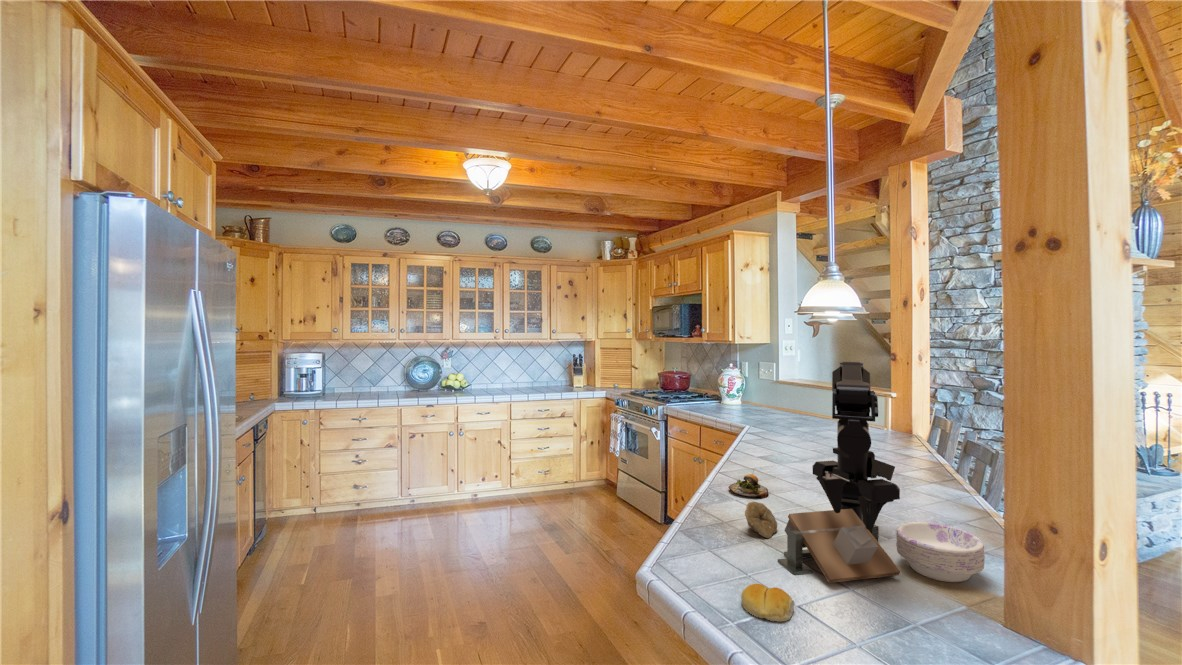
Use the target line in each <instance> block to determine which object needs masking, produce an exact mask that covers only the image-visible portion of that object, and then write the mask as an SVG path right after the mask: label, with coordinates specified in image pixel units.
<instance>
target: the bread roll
mask: <svg viewBox="0 0 1182 665" xmlns="http://www.w3.org/2000/svg"><path fill="white" fill-rule="evenodd" d="M740 599H741V600H740V602H741V604H742V607H743V608H744V610H745V611H746V612H747V613H748V612H749V613H750V615H751V614H752V615H751V616H753V615H754V616H753V617H755V616H756V617H755V618H758V617H759V618H758V619H765V620H767V621H769V620H770V622H774V621H777V622H776V623H778V622H786V621H789V620H790V619H791V617H792V616H793V613H794V610H795V601H794V600H793V599H792V597H791V595H790V594H788V592H786V591H785V590H784V589H781V588H779V587H770V588H768V587H767V586H765V585H764V584H762V583H752V584H750V585H748V586H746V587H745V588H744V589H743V591H742V593H741V595H740ZM749 613H748V614H749Z"/></svg>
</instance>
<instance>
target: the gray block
mask: <svg viewBox="0 0 1182 665" xmlns="http://www.w3.org/2000/svg"><path fill="white" fill-rule="evenodd" d="M833 545H834V546H835V547H836V549H837V550H838V552H839V553H840V555H841V556H842V558H843V559H844V561H845V562H846V564H847V565H851V564H860V563H869V561H870V560H871V558H872V556H873V554H874V553H875V551H876V549H877V548H878V546H877V545H876V543H875V542H874V541H873V539H872V538H871V537H870V535H869V534H868V533H867V531H866V530H865V529H864V527H863V526H855V527H843V528H841V529H840V531H839V533H838V535H837V537H836V539H835V541H834V543H833Z"/></svg>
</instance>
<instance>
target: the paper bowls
mask: <svg viewBox="0 0 1182 665" xmlns="http://www.w3.org/2000/svg"><path fill="white" fill-rule="evenodd" d="M895 532H896V533H895V535H896V538H895V539H896V545H895V546H896V551H897V553H898V555H899V556H900V557H902V558H903V559H904V560H906V561H907V563H908V565H909V566H910V567H911V568H912V569H913V571H915V572H916V573H918V574H919V575H922V576H924V577H926V578H930V579H932V580H936V581H939V582H946V583H961V582H962V583H963V582H966V581H967V580H968V579H970V578H971V576H972V575H974V574H978V573H980V572H982V571H983V570H984V569H985V558H986V557H985V544H984V542H983V541H982V540H981V539H980V538H979V537H978V536H976V535H974V534H973V533H970V532H969V531H965V530H964V529H960V528H957V527H954V526H950V525H946V524H940V523H934V522H924V521H922V522H921V521H919V522H918V521H914V522H913V521H912V522H904V523H902V524H900V525H898V526H897V527H896V531H895Z"/></svg>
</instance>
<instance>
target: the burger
mask: <svg viewBox="0 0 1182 665" xmlns="http://www.w3.org/2000/svg"><path fill="white" fill-rule="evenodd" d="M754 471H755V469H753V471H752V472H754ZM742 479H743V480H740V479H737V480H736V482H735V483H732V484H730V485H729V486H728V489H730V490H731V491H732V492H733V493H734V494H737V495H739V496H744V497H745V496H746V497H760V500H763V499H766V498H767V497H769V496H770V495H769V489H768V488H767V487H765V486H764V485H761V484H760V483H759V478H758V476H756V475H755V474H754V473H751V474H750V473H748V474H745V475H744V476H743V478H742Z"/></svg>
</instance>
